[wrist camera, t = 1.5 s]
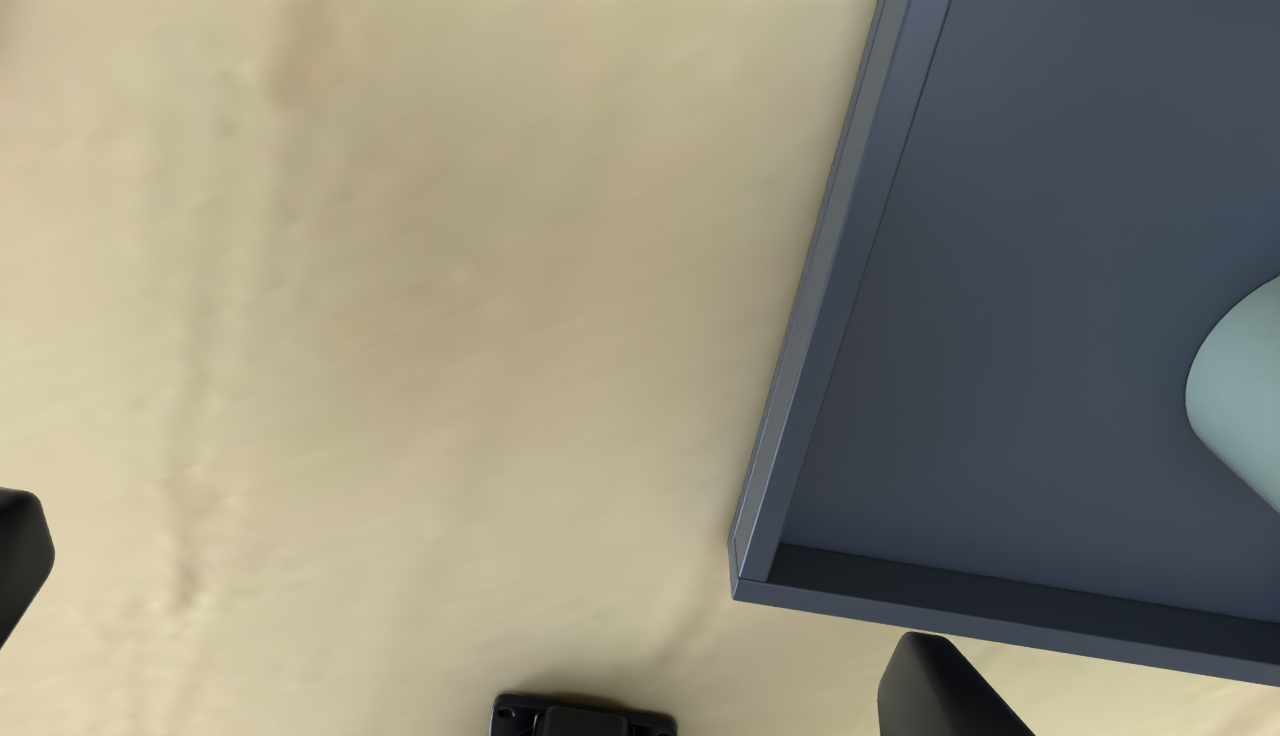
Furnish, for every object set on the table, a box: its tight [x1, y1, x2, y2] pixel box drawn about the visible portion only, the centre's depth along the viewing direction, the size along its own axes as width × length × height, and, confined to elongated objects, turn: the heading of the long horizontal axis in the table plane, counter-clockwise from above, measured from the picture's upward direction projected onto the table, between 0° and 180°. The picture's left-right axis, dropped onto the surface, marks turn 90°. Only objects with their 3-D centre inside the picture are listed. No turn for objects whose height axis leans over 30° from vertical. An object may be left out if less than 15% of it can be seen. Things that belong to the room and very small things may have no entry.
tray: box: [728, 0, 1280, 687], centre depth 18 cm, size 18×18×2 cm
